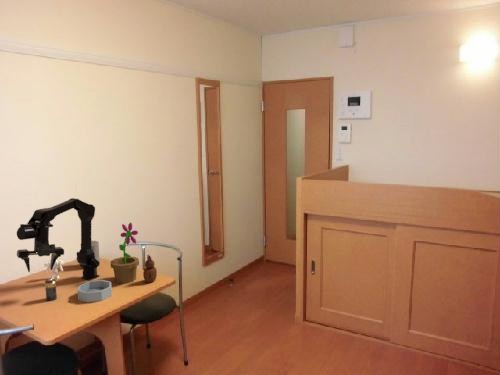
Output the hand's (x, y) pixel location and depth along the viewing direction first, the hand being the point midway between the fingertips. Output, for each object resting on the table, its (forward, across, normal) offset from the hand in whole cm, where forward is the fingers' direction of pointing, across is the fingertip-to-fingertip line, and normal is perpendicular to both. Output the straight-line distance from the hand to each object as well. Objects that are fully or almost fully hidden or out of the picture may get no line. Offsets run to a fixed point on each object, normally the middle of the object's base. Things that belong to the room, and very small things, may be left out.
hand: (40, 270), depth 182 cm
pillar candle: (+8, +33, +31) cm, 46 cm away
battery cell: (+13, +5, -3) cm, 14 cm away
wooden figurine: (+8, +49, -12) cm, 51 cm away
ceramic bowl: (+12, +22, -11) cm, 27 cm away
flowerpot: (+9, +40, -2) cm, 41 cm away
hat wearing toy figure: (+11, +12, +24) cm, 29 cm away
